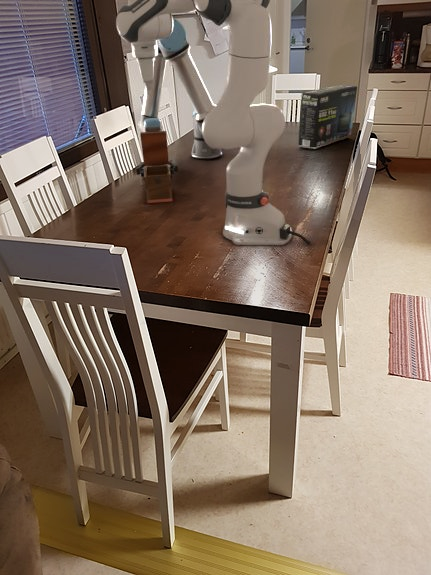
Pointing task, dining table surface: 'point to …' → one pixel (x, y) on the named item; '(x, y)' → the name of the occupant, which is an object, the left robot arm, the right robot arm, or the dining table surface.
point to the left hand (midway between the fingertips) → (157, 175)
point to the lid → (154, 146)
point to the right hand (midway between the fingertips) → (149, 93)
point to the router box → (326, 115)
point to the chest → (158, 183)
